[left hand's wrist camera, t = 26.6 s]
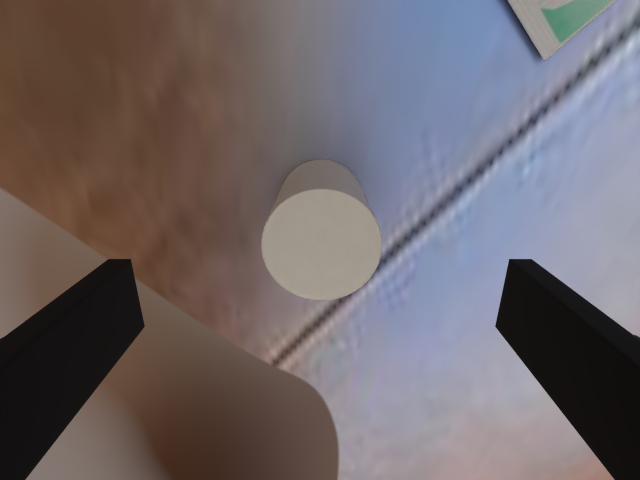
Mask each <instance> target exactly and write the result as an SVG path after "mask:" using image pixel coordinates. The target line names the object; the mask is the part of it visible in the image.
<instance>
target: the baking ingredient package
mask: <svg viewBox="0 0 640 480" xmlns="http://www.w3.org/2000/svg"><path fill="white" fill-rule="evenodd" d="M615 1H616V0H508V2H509V4H510V5H511V7H512V9H513V10H514V12H515V14H516V15H517V17H518V19H519V20H520V22H521V23H522V25H523V27H524V28H525V30H526V32H527V33H528V35H529V37H530V38H531V40H532V42H533V43H534V45H535V46H536V48H537V49H538V51H539V53H540V55H541V56H542V58H543V60H546V59H547V58H548V57H550V56H551V55H552V54H553V53H554V52H556V51H557V50H558V49H559V48H560V47H562V46H563V45H564V44H565V43H566V42H568V41H569V40H570V39H571V38H572V37H574V36H575V35H576V34H577V33H578V32H580V31H581V30H582V29H583V28H584V27H585V26H587V25H588V24H589V23H590V22H591V21H593V20H594V19H595V18H596V17H597V16H599V15H600V14H601V13H602V12H603V11H605V10H606V9H607V8H608V7H609V6H610V5H612V4H613V3H614V2H615Z"/></svg>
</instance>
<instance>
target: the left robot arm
mask: <svg viewBox="0 0 640 480" xmlns="http://www.w3.org/2000/svg"><path fill="white" fill-rule="evenodd" d="M495 327H496V328H497V329H498V331H499V332H500V333H501V334H502V336H503V337H504V338H505V340H506V341H507V342H508V343H509V345H510V346H511V347H512V349H513V350H514V351H515V352H516V354H517V355H518V356H519V357H520V359H521V360H522V361H523V363H524V364H525V365H526V366H527V368H528V369H529V370H530V372H531V373H532V374H533V375H534V377H535V378H536V379H537V381H538V382H539V383H540V384H541V386H542V387H543V388H544V390H545V391H546V392H547V393H548V395H549V396H550V397H551V399H552V400H553V401H554V402H555V404H556V405H557V406H558V408H559V409H560V410H561V411H562V413H563V414H564V415H565V416H566V418H567V419H568V420H569V422H570V423H571V424H572V425H573V427H574V428H575V429H576V431H577V432H578V433H579V434H580V436H581V437H582V438H583V440H584V441H585V442H586V443H587V445H588V446H589V447H590V449H591V450H592V451H593V452H594V454H595V455H596V456H597V458H598V459H599V460H600V461H601V463H602V464H603V465H604V466H605V468H606V469H607V470H608V472H609V473H610V474H611V475H612V477H613V478H614V479H615V480H640V337H638V336H636V335H632V334H631V333H630V332H628V331H627V330H626V329H624V328H623V327H622V326H620V325H619V324H618V323H616V322H615V321H614V320H612V319H611V318H610V317H608V316H607V315H606V314H604V313H603V312H602V311H600V310H599V309H598V308H596V307H595V306H594V305H592V304H591V303H590V302H588V301H587V300H586V299H584V298H583V297H581V296H580V295H579V294H577V293H576V292H575V291H573V290H572V289H571V288H569V287H568V286H567V285H565V284H564V283H563V282H561V281H560V280H559V279H557V278H556V277H555V276H553V275H552V274H551V273H549V272H548V271H547V270H545V269H544V268H543V267H541V266H540V265H539V264H537V263H536V262H535V261H533V260H532V259H509V263H508V268H507V273H506V278H505V283H504V287H503V292H502V297H501V302H500V307H499V312H498V316H497V321H496V326H495ZM143 328H144V321H143V317H142V312H141V307H140V302H139V297H138V292H137V287H136V283H135V278H134V273H133V268H132V263H131V259H108V260H107V261H105V262H104V263H103V264H101V265H100V266H99V267H97V268H96V269H95V270H93V271H92V272H91V273H89V274H88V275H87V276H85V277H84V278H83V279H81V280H80V281H79V282H77V283H76V284H75V285H73V286H72V287H71V288H69V289H68V290H67V291H65V292H64V293H63V294H61V295H60V296H59V297H57V298H56V299H55V300H53V301H52V302H51V303H49V304H48V305H46V306H45V307H44V308H42V309H41V310H40V311H38V312H37V313H36V314H34V315H33V316H32V317H30V318H29V319H28V320H26V321H25V322H24V323H22V324H21V325H20V326H18V327H17V328H16V329H14V330H13V331H12V332H10V333H9V334H8V335H6V336H5V337H3V338H1V339H0V480H25V479H26V478H27V477H28V475H29V474H30V473H31V472H32V470H33V469H34V468H35V466H36V465H37V464H38V463H39V461H40V460H41V459H42V458H43V456H44V455H45V454H46V452H47V451H48V450H49V449H50V447H51V446H52V445H53V443H54V442H55V441H56V440H57V438H58V437H59V436H60V434H61V433H62V432H63V431H64V429H65V428H66V427H67V425H68V424H69V423H70V422H71V420H72V419H73V418H74V416H75V415H76V414H77V413H78V411H79V410H80V409H81V407H82V406H83V405H84V404H85V402H86V401H87V400H88V399H89V397H90V396H91V395H92V393H93V392H94V391H95V390H96V388H97V387H98V386H99V384H100V383H101V382H102V381H103V379H104V378H105V377H106V375H107V374H108V373H109V372H110V370H111V369H112V368H113V366H114V365H115V364H116V363H117V361H118V360H119V359H120V357H121V356H122V355H123V354H124V352H125V351H126V350H127V348H128V347H129V346H130V345H131V343H132V342H133V341H134V339H135V338H136V337H137V336H138V334H139V333H140V332H141V331H142V329H143Z"/></svg>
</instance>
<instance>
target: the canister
mask: <svg viewBox="0 0 640 480" xmlns="http://www.w3.org/2000/svg"><path fill="white" fill-rule="evenodd" d="M261 250H262V256H263V260H264V263H265V265H266V267H267V269H268V271H269V273H270V274H271V276H272V277H273V278H274V279H275V281H276V282H277V283H278V284H279V285H281V286H282V287H283V288H284V289H286V290H287V291H289V292H290V293H292V294H295V295H297V296H299V297H302V298H306V299H310V300H333V299H337V298H341V297H344V296H347V295H349V294H351V293H353V292H354V291H356V290H357V289H359V288H360V287H361V286H363V285H364V284H365V283H366V282H367V281H368V280H369V279H370V277H371V276H372V275H373V273H374V272H375V270H376V268H377V266H378V263H379V261H380V257H381V252H382V236H381V231H380V228H379V225H378V223H377V220H376V218H375V216H374V214H373V212H372V210H371V208H370V205H369V203H368V201H367V199H366V197H365V195H364V192H363V190H362V188H361V186H360V184H359V182H358V180H357V178H356V177H355V176H354V174H353V173H352V172H351V171H350V170H349V169H347V168H346V167H345V166H343V165H341V164H340V163H337V162H335V161H331V160H324V159H318V160H312V161H308V162H305V163H303V164H301V165H299V166H298V167H296V168H295V169H294V170H293V171H292V172H291V173H290V174H289V175H288V176H287V178H286V179H285V181H284V183H283V185H282V187H281V190H280V192H279V194H278V196H277V199H276V201H275V203H274V205H273V208H272V210H271V212H270V214H269V217H268V219H267V221H266V224H265V226H264V229H263V233H262V239H261Z"/></svg>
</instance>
